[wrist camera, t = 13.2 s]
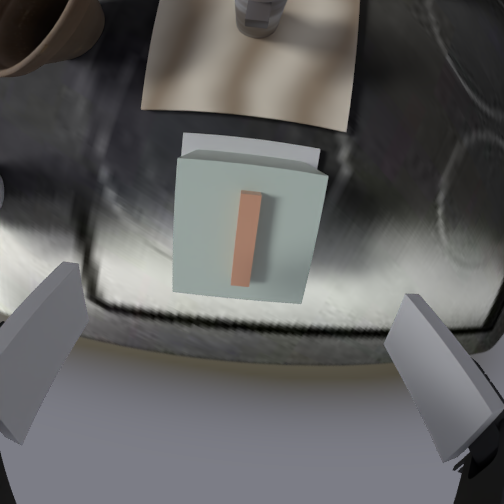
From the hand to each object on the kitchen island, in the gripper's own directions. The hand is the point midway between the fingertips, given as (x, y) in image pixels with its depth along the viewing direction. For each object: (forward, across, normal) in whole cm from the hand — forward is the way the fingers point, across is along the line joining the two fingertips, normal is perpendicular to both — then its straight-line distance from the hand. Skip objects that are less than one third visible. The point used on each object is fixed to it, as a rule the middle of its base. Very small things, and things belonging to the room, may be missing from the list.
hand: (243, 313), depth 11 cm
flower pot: (+18, -19, +16) cm, 31 cm away
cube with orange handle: (+17, 0, 0) cm, 17 cm away
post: (+18, -1, +17) cm, 24 cm away
